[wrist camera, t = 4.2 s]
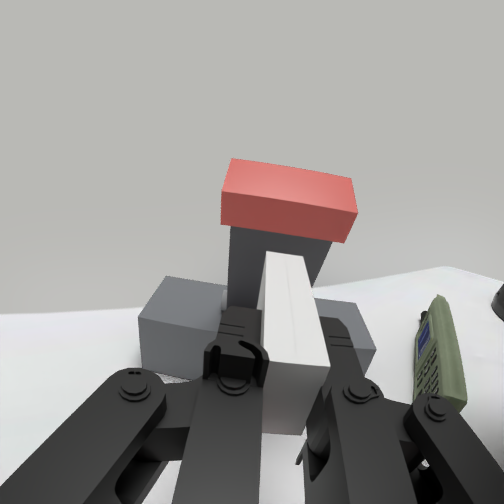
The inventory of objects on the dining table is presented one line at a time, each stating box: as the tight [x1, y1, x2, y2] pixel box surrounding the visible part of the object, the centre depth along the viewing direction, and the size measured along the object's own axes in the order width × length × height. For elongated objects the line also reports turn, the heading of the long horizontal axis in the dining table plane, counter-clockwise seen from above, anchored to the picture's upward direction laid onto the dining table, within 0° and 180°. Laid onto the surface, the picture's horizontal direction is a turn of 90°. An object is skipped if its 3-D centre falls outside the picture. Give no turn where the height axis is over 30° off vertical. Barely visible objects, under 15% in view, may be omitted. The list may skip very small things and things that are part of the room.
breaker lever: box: [221, 158, 358, 311], centre depth 21 cm, size 7×3×14 cm, turn 87°
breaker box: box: [138, 276, 376, 380], centre depth 28 cm, size 20×8×6 cm, turn 87°
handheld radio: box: [413, 294, 467, 413], centre depth 29 cm, size 7×3×25 cm
